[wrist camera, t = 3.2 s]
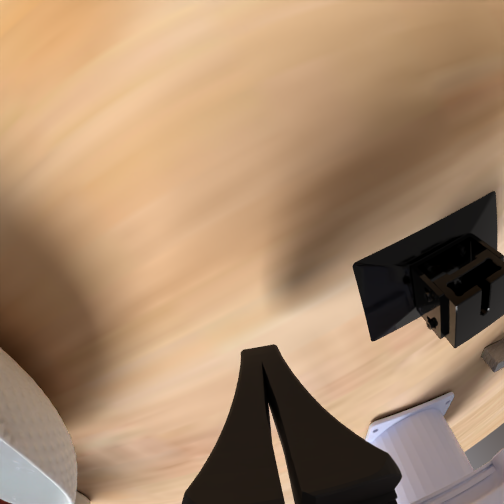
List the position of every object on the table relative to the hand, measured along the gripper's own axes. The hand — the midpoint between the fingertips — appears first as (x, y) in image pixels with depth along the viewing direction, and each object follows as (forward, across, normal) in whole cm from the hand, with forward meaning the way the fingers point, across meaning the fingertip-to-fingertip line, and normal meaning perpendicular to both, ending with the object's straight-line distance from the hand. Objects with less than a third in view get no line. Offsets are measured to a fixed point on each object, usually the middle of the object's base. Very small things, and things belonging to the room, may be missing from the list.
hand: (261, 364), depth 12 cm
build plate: (+3, -10, -1) cm, 11 cm away
